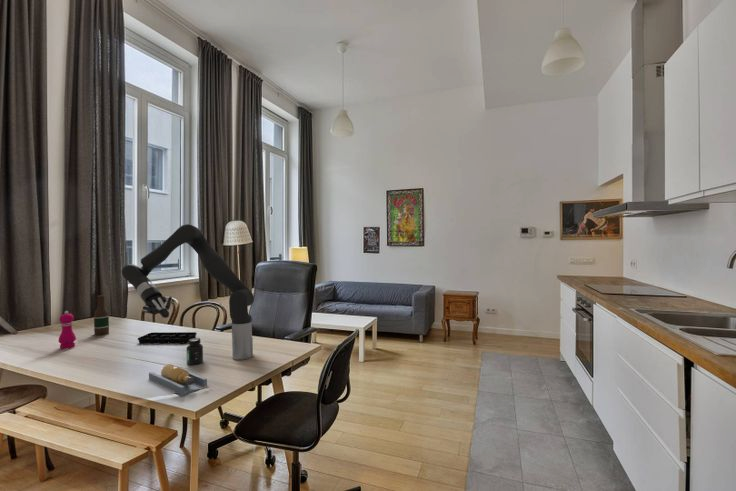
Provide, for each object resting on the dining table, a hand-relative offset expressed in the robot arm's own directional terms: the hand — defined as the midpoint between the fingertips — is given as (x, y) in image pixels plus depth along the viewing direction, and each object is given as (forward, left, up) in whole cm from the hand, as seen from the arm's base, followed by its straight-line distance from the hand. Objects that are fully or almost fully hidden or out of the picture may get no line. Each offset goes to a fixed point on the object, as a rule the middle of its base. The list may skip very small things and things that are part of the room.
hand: (166, 316), depth 158 cm
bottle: (-1, +13, -20) cm, 24 cm away
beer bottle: (+43, -89, -24) cm, 102 cm away
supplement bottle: (-11, -2, -24) cm, 27 cm away
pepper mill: (+53, -64, -24) cm, 87 cm away
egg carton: (+4, -53, -25) cm, 58 cm away
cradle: (-5, +19, -24) cm, 31 cm away
